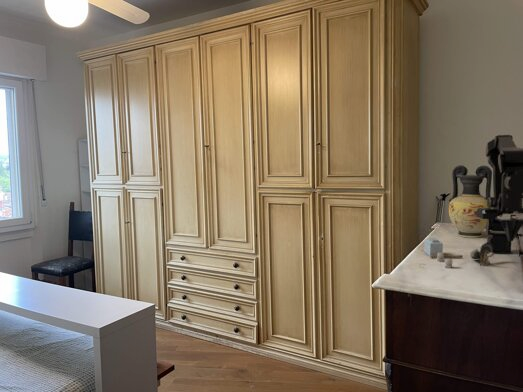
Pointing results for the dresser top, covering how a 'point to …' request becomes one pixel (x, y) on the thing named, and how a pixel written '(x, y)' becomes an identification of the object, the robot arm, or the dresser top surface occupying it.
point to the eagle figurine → (483, 253)
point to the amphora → (469, 201)
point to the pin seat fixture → (447, 261)
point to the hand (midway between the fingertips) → (510, 240)
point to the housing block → (433, 246)
